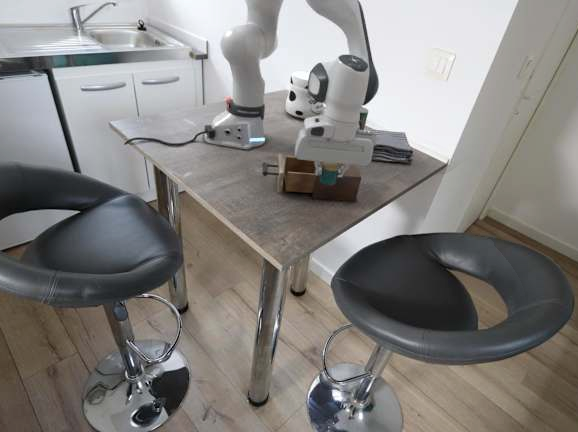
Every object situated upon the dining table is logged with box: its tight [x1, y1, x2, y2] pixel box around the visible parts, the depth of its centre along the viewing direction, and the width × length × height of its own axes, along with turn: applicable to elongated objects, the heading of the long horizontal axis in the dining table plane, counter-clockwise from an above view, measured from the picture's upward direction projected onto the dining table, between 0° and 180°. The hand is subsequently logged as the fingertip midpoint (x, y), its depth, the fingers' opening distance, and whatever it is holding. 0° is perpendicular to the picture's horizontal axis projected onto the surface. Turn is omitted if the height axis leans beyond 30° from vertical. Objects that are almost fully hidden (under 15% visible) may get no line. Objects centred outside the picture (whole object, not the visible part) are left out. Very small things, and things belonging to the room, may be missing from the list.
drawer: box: [262, 153, 316, 194], centre depth 108 cm, size 17×12×7 cm
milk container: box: [285, 70, 324, 121], centre depth 158 cm, size 17×17×18 cm
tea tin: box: [320, 162, 339, 185], centre depth 94 cm, size 4×4×5 cm
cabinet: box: [311, 161, 362, 202], centre depth 110 cm, size 13×13×8 cm
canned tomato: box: [359, 106, 369, 130], centre depth 150 cm, size 8×8×11 cm
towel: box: [366, 129, 414, 164], centre depth 137 cm, size 15×18×8 cm
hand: (328, 175), depth 95 cm, fingers closed on tea tin, 4 cm apart
